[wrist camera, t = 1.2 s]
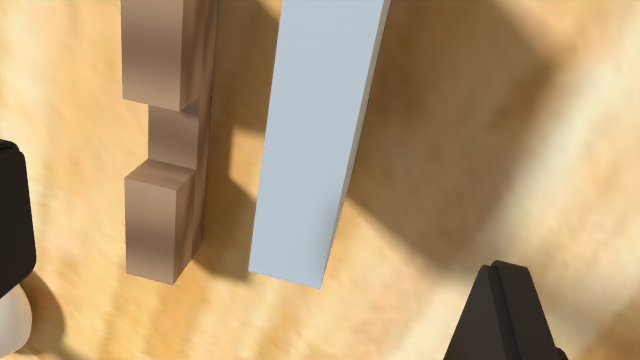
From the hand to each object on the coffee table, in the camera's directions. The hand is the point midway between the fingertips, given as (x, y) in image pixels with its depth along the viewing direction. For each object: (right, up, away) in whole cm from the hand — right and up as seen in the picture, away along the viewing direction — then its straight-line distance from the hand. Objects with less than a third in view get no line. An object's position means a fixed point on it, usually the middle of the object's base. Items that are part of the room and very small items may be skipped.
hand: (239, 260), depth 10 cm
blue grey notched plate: (+3, +8, +16) cm, 19 cm away
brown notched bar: (-6, +5, +20) cm, 21 cm away
